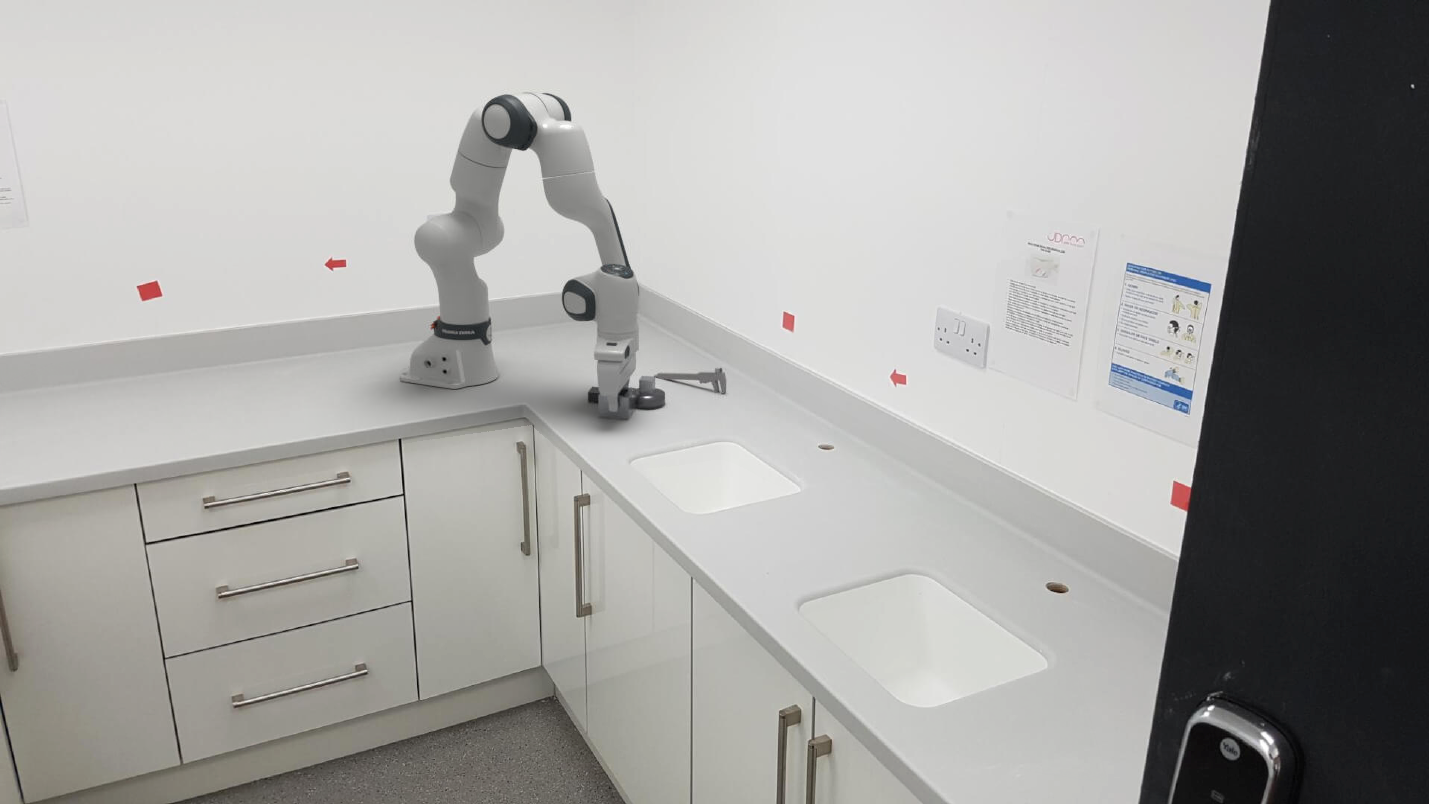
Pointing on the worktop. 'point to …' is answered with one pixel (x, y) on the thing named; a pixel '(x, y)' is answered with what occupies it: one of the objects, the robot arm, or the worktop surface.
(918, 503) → the worktop surface
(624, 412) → the grey metal block
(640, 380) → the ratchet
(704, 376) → the caliper
